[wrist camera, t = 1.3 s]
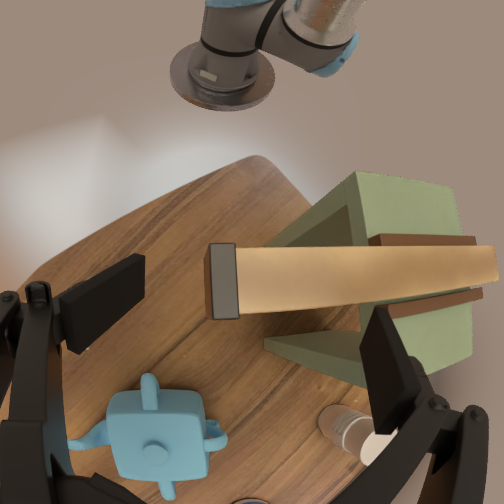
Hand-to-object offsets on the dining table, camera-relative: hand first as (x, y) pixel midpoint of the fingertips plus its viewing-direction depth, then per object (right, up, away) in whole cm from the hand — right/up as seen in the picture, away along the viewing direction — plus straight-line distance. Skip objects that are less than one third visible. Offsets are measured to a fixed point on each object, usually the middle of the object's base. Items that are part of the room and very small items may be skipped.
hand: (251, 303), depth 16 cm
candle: (+15, -27, +30) cm, 43 cm away
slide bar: (+9, +1, +3) cm, 9 cm away
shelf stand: (+7, -5, +33) cm, 34 cm away
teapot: (-16, -24, +24) cm, 37 cm away
